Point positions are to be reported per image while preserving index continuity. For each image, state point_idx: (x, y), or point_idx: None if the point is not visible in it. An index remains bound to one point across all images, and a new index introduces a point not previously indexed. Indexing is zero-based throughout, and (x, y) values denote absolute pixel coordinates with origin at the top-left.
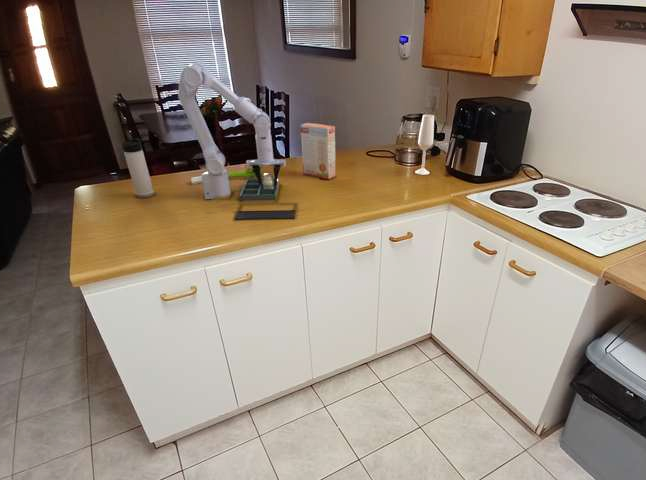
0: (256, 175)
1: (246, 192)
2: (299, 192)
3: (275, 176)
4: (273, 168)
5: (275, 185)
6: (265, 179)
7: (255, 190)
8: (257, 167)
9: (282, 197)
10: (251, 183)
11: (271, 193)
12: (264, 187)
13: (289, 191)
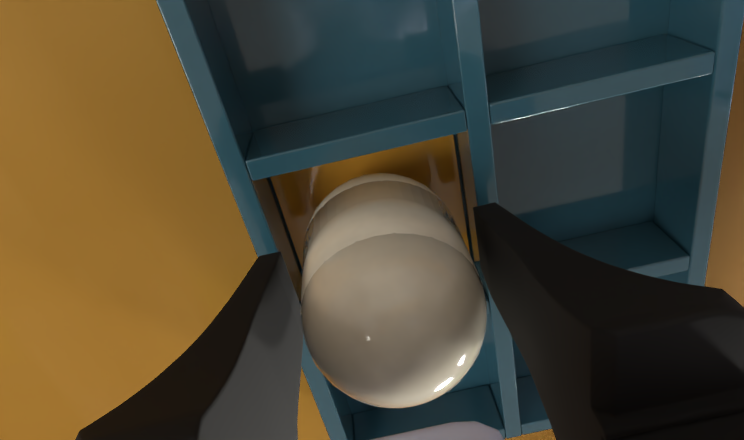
0: (592, 264)
1: (653, 49)
2: (40, 290)
3: (230, 331)
4: (193, 436)
5: None
6: (409, 249)
7: (533, 87)
8: (634, 420)
9: (153, 99)
10: None
11: (307, 122)
12: (421, 185)
13: (169, 294)
